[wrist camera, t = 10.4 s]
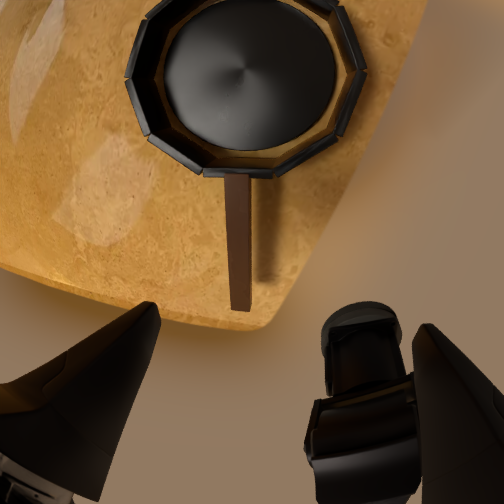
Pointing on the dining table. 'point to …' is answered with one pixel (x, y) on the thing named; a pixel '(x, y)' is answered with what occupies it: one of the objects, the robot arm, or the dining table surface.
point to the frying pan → (243, 96)
